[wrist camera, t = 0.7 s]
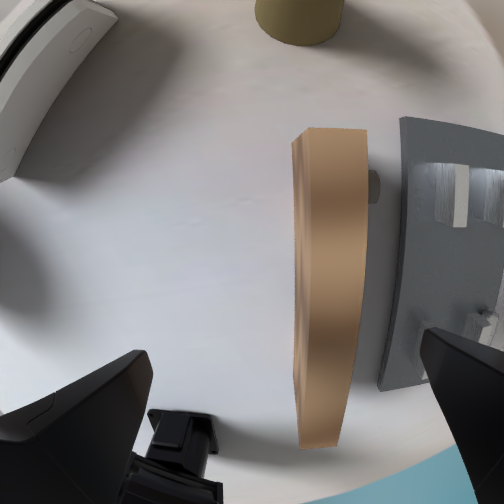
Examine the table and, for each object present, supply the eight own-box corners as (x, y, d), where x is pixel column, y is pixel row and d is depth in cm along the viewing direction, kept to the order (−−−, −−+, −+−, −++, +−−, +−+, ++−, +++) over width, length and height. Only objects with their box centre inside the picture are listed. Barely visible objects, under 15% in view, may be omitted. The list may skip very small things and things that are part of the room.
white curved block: (89, -2, 15) (44, -40, 6) (125, 21, 17) (91, -16, 9) (-9, 149, 19) (-73, 182, 10) (20, 173, 21) (-39, 216, 13)
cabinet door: (335, 372, 23) (354, 443, 15) (293, 375, 23) (299, 449, 16) (345, 143, 18) (393, 131, 10) (291, 143, 18) (308, 127, 11)
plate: (469, 365, 23) (485, 384, 19) (377, 384, 23) (387, 410, 20) (504, 137, 16) (530, 137, 13) (399, 118, 17) (422, 111, 14)
